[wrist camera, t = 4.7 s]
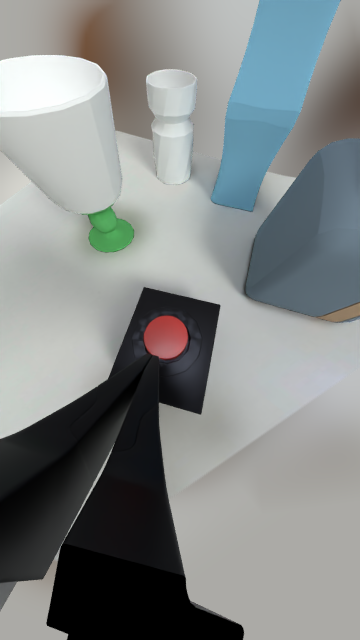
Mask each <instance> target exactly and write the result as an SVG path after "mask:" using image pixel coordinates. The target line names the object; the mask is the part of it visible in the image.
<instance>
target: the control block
mask: <svg viewBox="0 0 360 640" xmlns="http://www.w3.org/2000/svg"><path fill="white" fill-rule="evenodd" d="M219 311H220V305H219V304H214V303H210V302H206V301H201V300H197V299H193V298H189V297H184V296H180V295H176V294H171V293H167V292H163V291H159V290H154V289H150V288H146V287H144V288H143V291H142V294H141V296H140V299H139V301H138V304H137V306H136V309H135V311H134V314H133V317H132V319H131V322H130V324H129V327H128V329H127V332H126V334H125V337H124V340H123V342H122V345H121V347H120V350H119V352H118V355H117V357H116V360H115V363H114V365H113V368H112V370H111V373H110V375H109V378H111V377H112V376H114V375H115V374H117V373H118V372H120V371H121V370H123V369H124V368H126V367H127V366H129V365H130V364H132V363H133V362H135V361H136V360H138V359H139V358H141V357H142V356H144V355H145V354H147V353H148V354H150V353H149V351H148V350H147V349H146V347H145V344H144V333H145V330H146V328H147V326H148V324H149V323H150V322H151V321H152V320H154V319H155V318H158V317H160V316H173V317H175V318H177V319H179V320H180V321H181V322H182V323H183V324H184V325H185V327H186V329H187V333H188V341H187V345H186V347H185V349H184V351H183V352H182V353H181V354H180V355H179V356H178V357H176V358H174V359H170V360H163V359H159V403H163V404H166V405H170V406H173V407H176V408H180V409H183V410H187V411H190V412H193V413H197V414H201V413H202V407H203V401H204V396H205V390H206V384H207V379H208V373H209V368H210V362H211V356H212V351H213V345H214V339H215V334H216V328H217V322H218V317H219ZM109 378H108V379H109Z"/></svg>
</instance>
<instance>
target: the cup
mask: <svg viewBox="0 0 360 640" xmlns="http://www.w3.org/2000/svg"><path fill="white" fill-rule="evenodd" d="M0 151H1V152H2V153H3V154H4V155H5V156H6V157H8V159H9V160H11V161H12V162H13V163H14V164H15V165H16V166H17V167H18V168H19V169H20V170H21V171H22V172H23V173H24V174H25V175H26V176H27V177H28V178H29V179H30V180H31V181H32V182H33V183H34V184H35V185H36V186H37V187H38V188H39V189H40V190H41V191H42V192H43V193H44V194H45V195H46V196H47V197H48V198H49V199H50V200H52V201H53V202H54V203H55V204H57V205H58V206H59V207H61V208H63V209H65V210H66V211H69V212H73V213H77V214H82V215H87V214H88V217H89V219H90V222H91V224H92V225H93V226H94V227H93V228H92V230H91V231H90V233H89V241H90V244H91V245H92V246H93V247H94V248H95V249H96V250H99V251H103V252H115V251H118V250H121V249H123V248H125V247H126V246H127V245H129V244H130V242H131V241H132V239H133V237H134V230H133V228H132V226H131V224H129V223H128V222H127V221H125V220H122V219H118V218H116V215H115V213H114V211H113V210H112V208H111V206H113V204H114V203H115V202H116V200H117V199H118V197H119V196H120V193H121V186H122V174H121V167H120V161H119V154H118V147H117V140H116V134H115V128H114V121H113V114H112V107H111V100H110V93H109V87H108V80H107V76H106V74H105V73H104V72H103V70H102V69H101V68H100V67H99V66H98V65H97V64H95V63H92V62H90V61H87V60H85V59H82V58H77V57H70V56H63V55H33V56H25V57H17V58H9V59H5V60H1V61H0Z"/></svg>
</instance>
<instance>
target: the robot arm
mask: <svg viewBox="0 0 360 640" xmlns="http://www.w3.org/2000/svg"><path fill="white" fill-rule="evenodd" d="M114 443H115V444H114ZM113 445H114V446H113ZM112 447H113V449H112ZM111 449H112V451H111V454H110V456H109V459H108V461H107V463H106V466H105V468H104V470H103V472H102V474H101V476H100V478H99V480H98V481H97V483H96V485H95V487H94V489H93V490H92V492H91V494H90V496H89V497H88V499H87V501H86V503H85V505H84V506H83V508H82V510H81V512H80V513H79V515H78V517H77V519H76V521H75V522H74V524H73V526H72V528H71V529H70V527H71V525H72V523H73V521H74V519H75V517H76V515H77V514H78V512H79V510H80V508H81V506H82V504H83V502H84V500H85V498H86V496H87V494H88V493H89V491H90V489H91V487H92V485H93V482H94V481H95V479H96V477H97V475H98V473H99V471H100V470H101V468H102V466H103V464H104V462H105V460H106V458H107V456H108V454H109V452H110V450H111ZM69 529H70V531H69ZM68 531H69V533H68ZM67 533H68V535H67ZM66 535H67V537H66V538H65V536H66ZM64 538H65V540H64ZM63 540H64V542H63ZM62 542H63V544H62ZM61 544H62V546H61ZM60 546H61V548H60ZM59 548H60V553H59V558H58V564H57V569H56V575H55V581H54V586H53V592H52V597H51V603H50V608H49V613H48V618H47V626H49V627H52V628H54V629H57V630H59V631H62V632H65V633H67V634H68V638H67V640H243V636H244V630H243V627H242V626H241V625H240V624H238V623H236V622H234V621H231V620H229V619H227V618H225V617H223V616H221V615H219V614H217V613H215V612H213V611H210V610H208V609H206V608H204V607H202V606H200V605H198V604H196V603H194V602H191V601H190V600H189V597H188V594H187V589H186V578H185V574H184V570H183V565H182V560H181V555H180V551H179V547H178V541H177V537H176V533H175V527H174V523H173V518H172V513H171V509H170V504H169V499H168V494H167V488H166V482H165V474H164V466H163V457H162V448H161V440H160V429H159V356H156V355H152V354H148V353H147V354H145V355H144V356H142V357H141V358H139V359H138V360H136V361H135V362H133V363H132V364H130V365H129V366H127V367H126V368H124V369H123V370H121V371H120V372H118V373H117V374H115V375H114V376H112V377H111V378H109V379H108V380H106V381H105V382H103V383H102V384H100V385H99V386H98V387H95V388H94V389H92V390H91V391H89V392H88V393H86V394H85V395H83V396H82V397H80V398H78V399H77V400H75V401H73V402H72V403H70V404H68V405H66V406H65V407H63V408H61V409H59V410H58V411H56V412H54V413H52V414H51V415H49V416H47V417H45V418H43V419H42V420H40V421H38V422H36V423H35V424H33V425H31V426H29V427H27V428H25V429H23V430H21V431H19V432H17V433H15V434H12V435H10V436H7V437H5V438H2V439H0V610H1V609H2V607H3V605H4V603H5V602H6V600H7V598H8V596H9V595H10V593H11V591H12V590H13V588H14V586H15V584H16V582H18V581H28V580H38V579H43V578H44V576H45V574H46V573H47V571H48V569H49V567H50V565H51V563H52V561H53V559H54V557H55V556H56V554H57V552H58V550H59Z"/></svg>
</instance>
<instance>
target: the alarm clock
mask: <svg viewBox="0 0 360 640" xmlns="http://www.w3.org/2000/svg"><path fill="white" fill-rule="evenodd" d="M246 293H247V295H248V296H249V297H250V298H252V299H254V300H256V301H260V302H263V303H267V304H270V305H274V306H277V307H281V308H285V309H288V310H292V311H295V312H299V313H302V314H306V315H310V316H313V317H317V318H320V319H324V320H327V321H331V322H337V323H344V322H351V321H354V320H358V319H360V139H344V140H340V141H336V142H332V143H330V144H329V145H327V146H325V147H324V148H322V149H321V150H319V151H318V152H317V153H316V154H315V155H314V156H313V157H312V159H310V161H309V162H308V163H307V165H306V166H305V167H304V169H303V170H302V171H301V173H300V174H299V176H298V177H297V178H296V179H295V181H294V182H293V183H292V185H291V186H290V188H289V189H288V190H287V192H286V193H285V194H284V196H283V197H282V198H281V200H280V201H279V202H278V204H277V205H276V206H275V208H274V209H273V210H272V212H271V213H270V215H269V216H268V217H267V219H266V220H265V221H264V223H263V224H262V225H261V227H260V228H259V230H258V232H257V234H256V237H255V242H254V247H253V252H252V257H251V262H250V267H249V272H248V277H247V282H246Z"/></svg>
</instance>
